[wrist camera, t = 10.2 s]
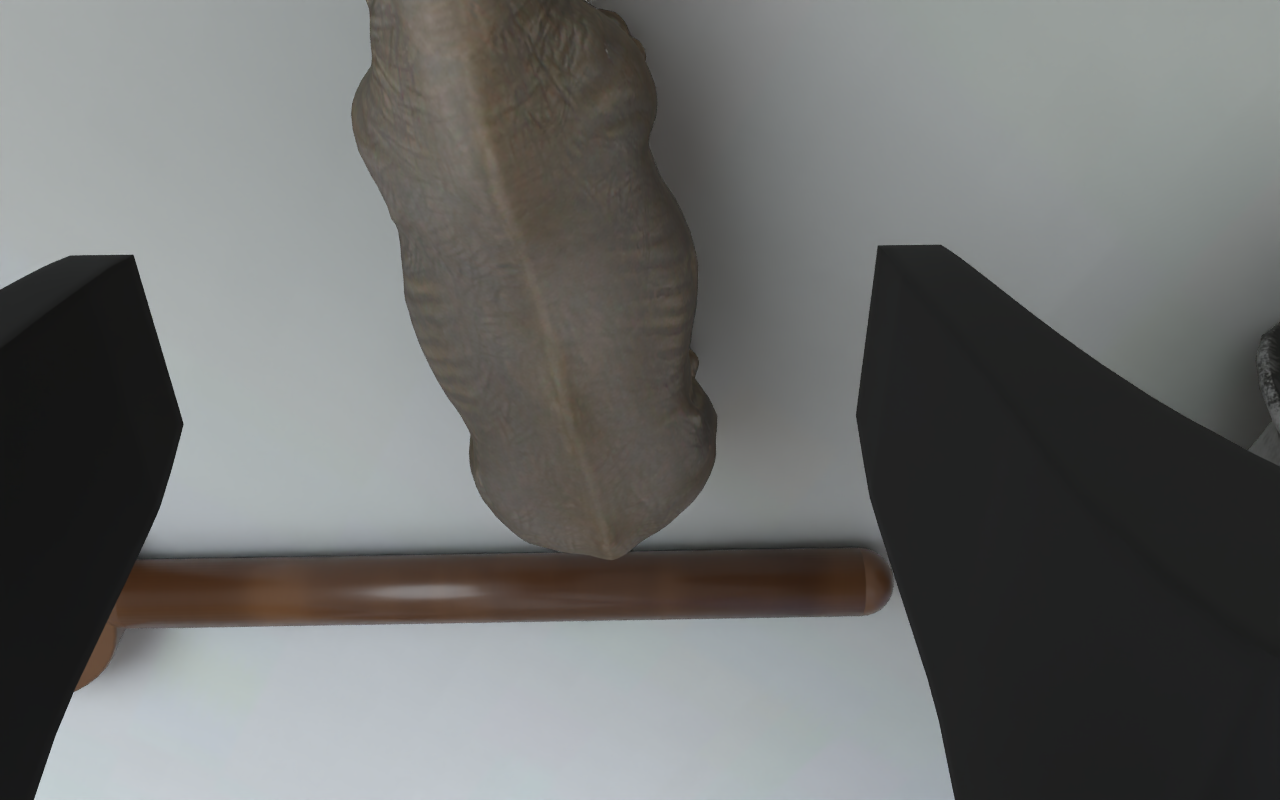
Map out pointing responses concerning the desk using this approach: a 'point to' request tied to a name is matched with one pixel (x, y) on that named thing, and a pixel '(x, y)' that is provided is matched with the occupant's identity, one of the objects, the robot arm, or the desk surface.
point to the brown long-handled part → (493, 589)
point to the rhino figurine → (542, 260)
